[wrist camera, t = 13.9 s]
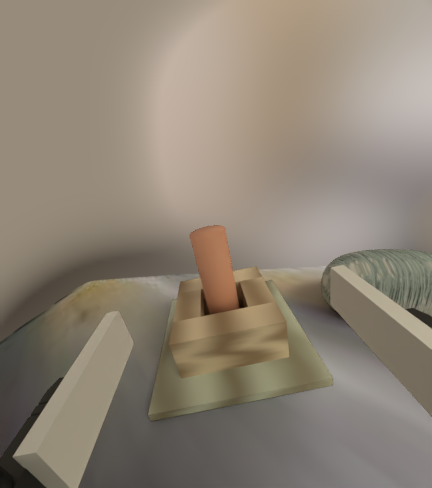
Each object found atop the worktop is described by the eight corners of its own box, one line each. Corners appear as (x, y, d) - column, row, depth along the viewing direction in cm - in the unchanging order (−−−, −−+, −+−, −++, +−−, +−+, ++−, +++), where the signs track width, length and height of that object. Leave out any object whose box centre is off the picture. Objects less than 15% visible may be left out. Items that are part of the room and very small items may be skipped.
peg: (240, 314, 30) (223, 223, 25) (245, 335, 26) (227, 233, 21) (213, 320, 30) (190, 229, 25) (214, 342, 26) (188, 241, 21)
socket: (272, 284, 37) (269, 254, 34) (332, 385, 20) (334, 339, 18) (173, 304, 37) (164, 275, 35) (150, 421, 20) (130, 379, 18)
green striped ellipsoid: (426, 263, 29) (438, 215, 23) (472, 333, 23) (505, 295, 17) (321, 280, 35) (308, 246, 29) (335, 338, 29) (323, 312, 23)
